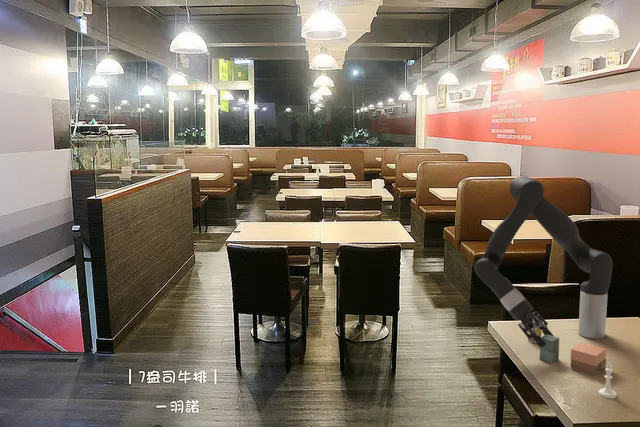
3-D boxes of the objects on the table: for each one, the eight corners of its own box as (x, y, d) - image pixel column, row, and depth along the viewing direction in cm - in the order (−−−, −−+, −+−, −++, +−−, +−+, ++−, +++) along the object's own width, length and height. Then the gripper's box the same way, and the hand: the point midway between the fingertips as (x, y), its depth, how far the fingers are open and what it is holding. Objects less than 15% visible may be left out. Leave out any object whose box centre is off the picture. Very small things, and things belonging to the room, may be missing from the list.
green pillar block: (546, 355, 193) (546, 334, 191) (558, 359, 189) (559, 337, 188) (539, 359, 190) (540, 337, 188) (552, 363, 186) (553, 341, 185)
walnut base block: (581, 361, 188) (581, 352, 187) (605, 369, 182) (606, 359, 181) (570, 368, 183) (571, 358, 182) (595, 376, 177) (595, 366, 176)
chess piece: (616, 400, 161) (618, 368, 159) (597, 396, 164) (599, 364, 162) (617, 392, 165) (619, 361, 163) (599, 389, 168) (600, 358, 166)
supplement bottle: (542, 343, 203) (542, 321, 202) (528, 342, 204) (529, 321, 203) (539, 338, 208) (540, 317, 207) (526, 337, 209) (527, 316, 208)
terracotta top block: (580, 351, 187) (581, 342, 187) (605, 358, 181) (605, 348, 181) (570, 359, 182) (571, 349, 181) (595, 366, 176) (596, 356, 176)
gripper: (516, 303, 187) (549, 343, 181) (531, 293, 198) (562, 330, 192) (500, 315, 191) (532, 354, 186) (515, 304, 202) (546, 341, 196)
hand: (547, 342), depth 189 cm, fingers open, 8 cm apart
